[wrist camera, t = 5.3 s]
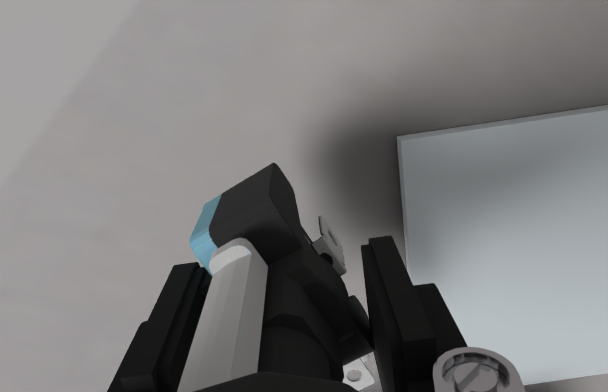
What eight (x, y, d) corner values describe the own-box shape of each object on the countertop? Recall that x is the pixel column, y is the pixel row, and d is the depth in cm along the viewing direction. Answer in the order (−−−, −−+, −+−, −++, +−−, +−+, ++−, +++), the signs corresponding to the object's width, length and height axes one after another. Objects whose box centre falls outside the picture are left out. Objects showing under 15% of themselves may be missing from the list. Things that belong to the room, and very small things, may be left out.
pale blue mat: (713, 89, 15) (729, 91, 15) (674, 351, 19) (687, 361, 18) (396, 136, 15) (401, 140, 15) (416, 388, 19) (420, 400, 18)
